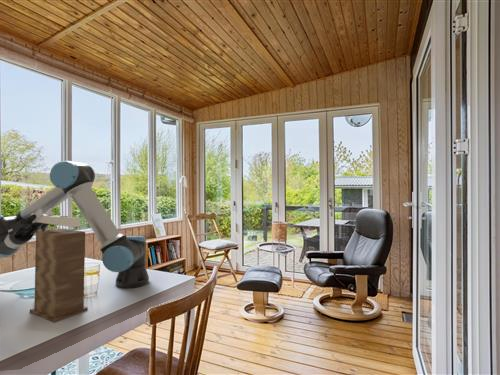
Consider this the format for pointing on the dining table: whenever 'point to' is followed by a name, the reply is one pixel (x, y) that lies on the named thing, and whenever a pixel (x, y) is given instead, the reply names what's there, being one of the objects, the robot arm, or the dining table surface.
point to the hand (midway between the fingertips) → (46, 211)
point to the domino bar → (60, 220)
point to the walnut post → (59, 274)
